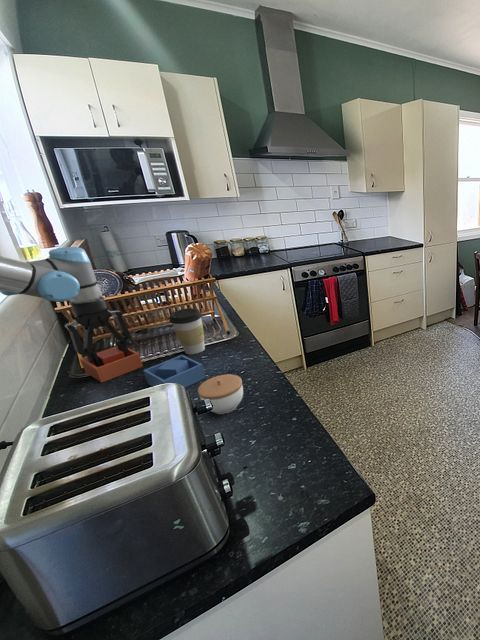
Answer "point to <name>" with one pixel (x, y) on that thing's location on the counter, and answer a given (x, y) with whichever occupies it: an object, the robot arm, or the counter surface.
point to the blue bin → (184, 378)
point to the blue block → (172, 368)
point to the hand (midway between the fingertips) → (112, 364)
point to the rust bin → (113, 366)
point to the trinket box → (222, 392)
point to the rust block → (110, 356)
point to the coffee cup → (189, 329)
